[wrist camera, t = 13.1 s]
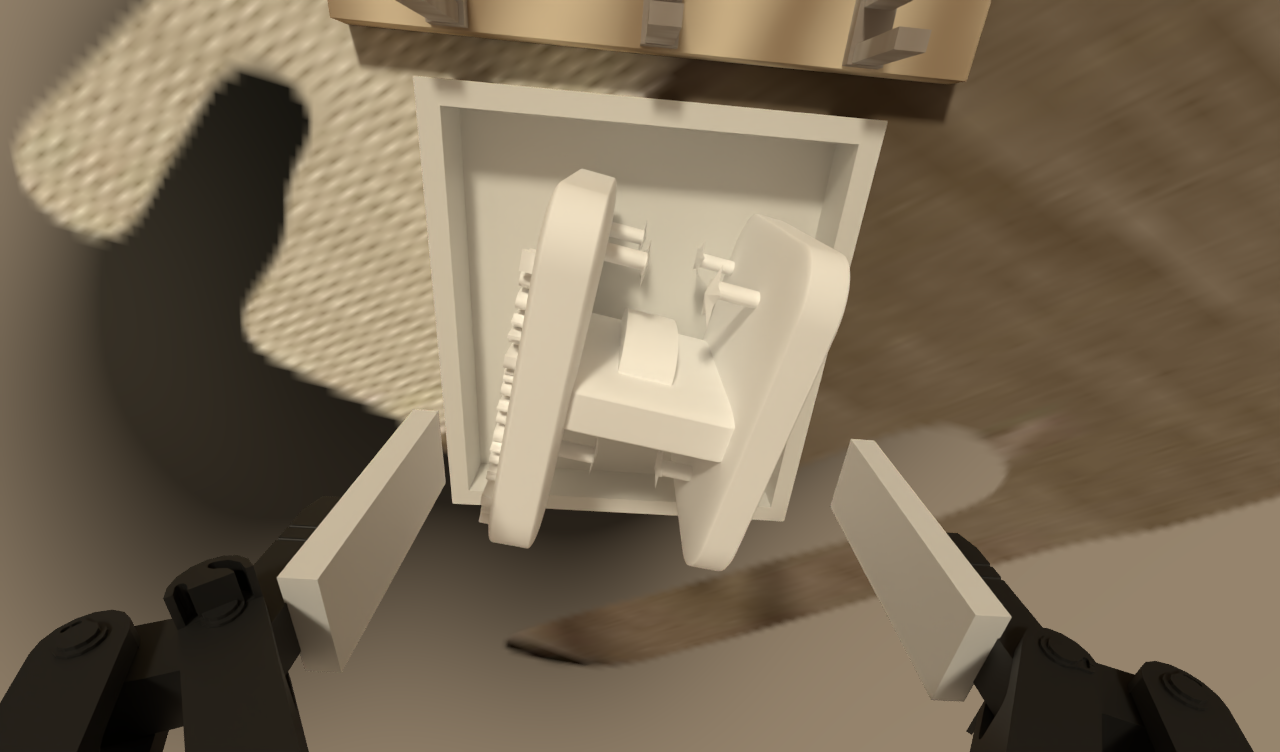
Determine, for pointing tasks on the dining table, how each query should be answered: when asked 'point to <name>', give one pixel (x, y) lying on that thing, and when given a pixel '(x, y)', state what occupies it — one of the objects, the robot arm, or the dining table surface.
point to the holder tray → (612, 240)
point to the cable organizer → (659, 369)
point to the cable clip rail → (717, 30)
